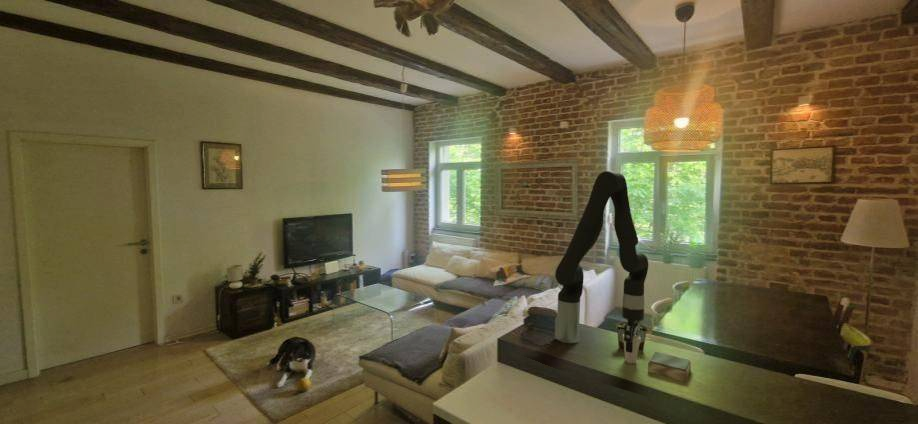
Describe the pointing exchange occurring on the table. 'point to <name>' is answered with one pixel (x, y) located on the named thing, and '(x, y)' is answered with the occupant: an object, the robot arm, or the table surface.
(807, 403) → the table surface
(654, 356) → the oak plinth
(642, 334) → the food container
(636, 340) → the smoothie
